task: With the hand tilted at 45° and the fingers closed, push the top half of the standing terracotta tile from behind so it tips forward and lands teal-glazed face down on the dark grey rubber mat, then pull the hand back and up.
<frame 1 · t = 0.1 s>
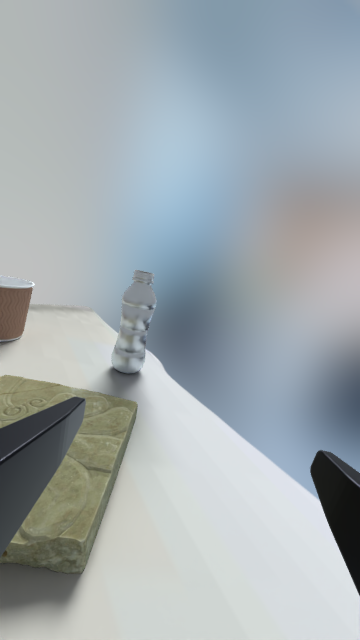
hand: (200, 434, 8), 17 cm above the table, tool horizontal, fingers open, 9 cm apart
decorative tile: (28, 456, 24), on the table
plastic bottle: (126, 370, 46), on the table
coffee cup: (2, 336, 48), on the table
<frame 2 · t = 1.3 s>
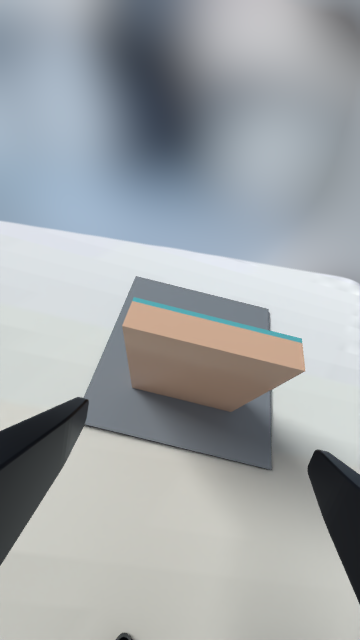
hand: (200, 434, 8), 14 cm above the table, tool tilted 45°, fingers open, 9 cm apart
mat: (189, 355, 25), on the table
tile: (183, 389, 22), resting on mat
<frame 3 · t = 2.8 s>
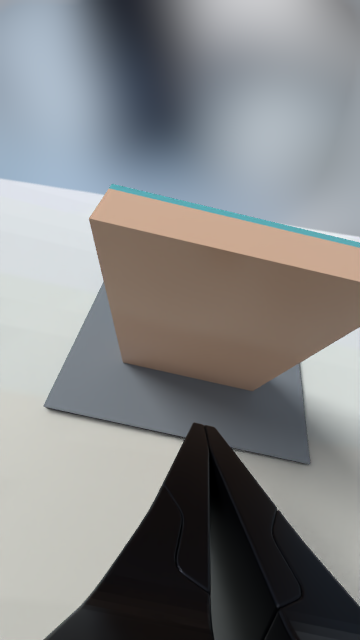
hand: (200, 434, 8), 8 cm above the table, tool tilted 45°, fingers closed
mat: (196, 323, 20), on the table
tile: (190, 364, 17), resting on mat
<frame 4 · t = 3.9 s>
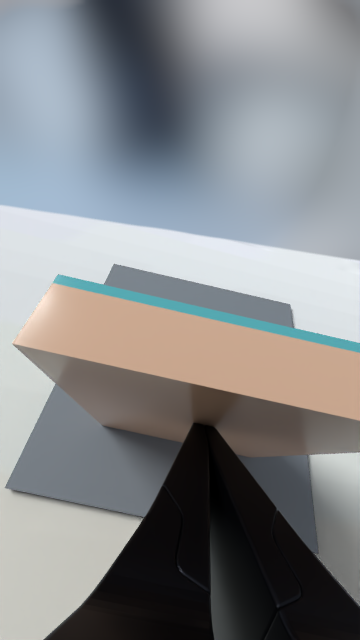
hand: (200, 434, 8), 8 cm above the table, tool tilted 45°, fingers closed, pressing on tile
mat: (187, 371, 18), on the table
tile: (179, 425, 15), resting on mat, touching gripper
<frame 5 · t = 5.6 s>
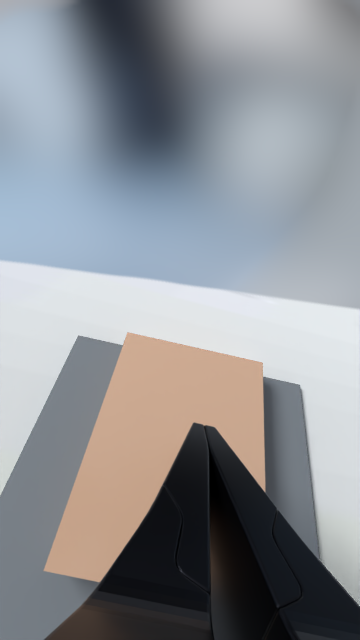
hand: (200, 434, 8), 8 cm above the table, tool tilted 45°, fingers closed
mat: (165, 503, 13), on the table
tile: (155, 582, 11), point 1 cm above the table, tilted 90°, touching mat
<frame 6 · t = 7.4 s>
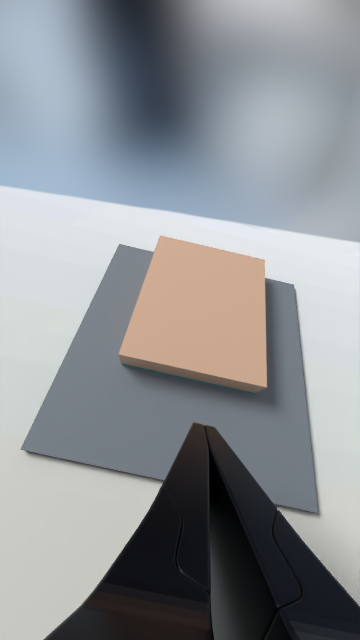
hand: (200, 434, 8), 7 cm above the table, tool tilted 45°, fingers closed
mat: (192, 347, 18), on the table
tile: (190, 375, 16), point 1 cm above the table, tilted 90°, touching mat
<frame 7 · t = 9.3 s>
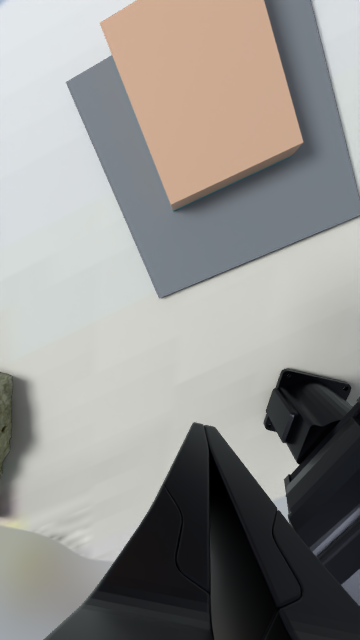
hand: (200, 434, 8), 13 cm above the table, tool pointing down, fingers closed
mat: (217, 152, 18), on the table
tile: (232, 180, 17), point 1 cm above the table, tilted 90°, touching mat
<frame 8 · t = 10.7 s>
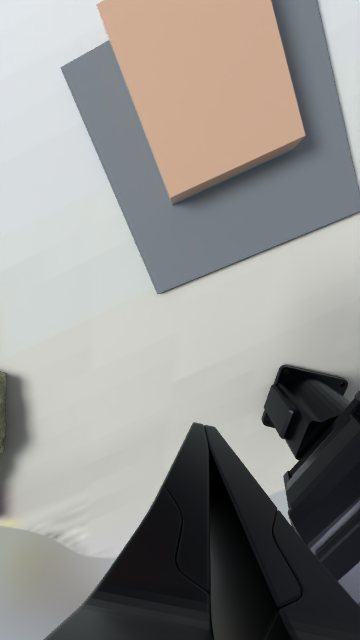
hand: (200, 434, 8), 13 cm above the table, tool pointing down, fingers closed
mat: (217, 144, 18), on the table
tile: (232, 173, 17), point 1 cm above the table, tilted 90°, touching mat
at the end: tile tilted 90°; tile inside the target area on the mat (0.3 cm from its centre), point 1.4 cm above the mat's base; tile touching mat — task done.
